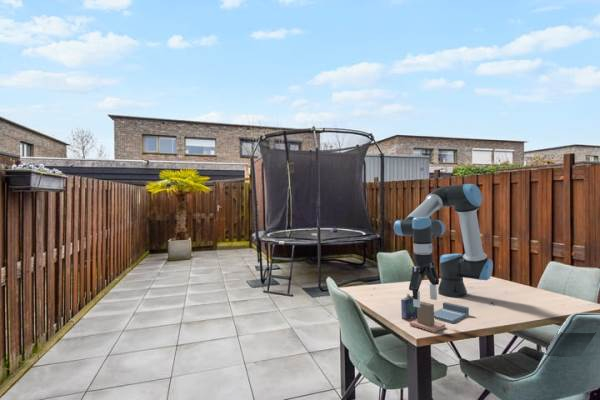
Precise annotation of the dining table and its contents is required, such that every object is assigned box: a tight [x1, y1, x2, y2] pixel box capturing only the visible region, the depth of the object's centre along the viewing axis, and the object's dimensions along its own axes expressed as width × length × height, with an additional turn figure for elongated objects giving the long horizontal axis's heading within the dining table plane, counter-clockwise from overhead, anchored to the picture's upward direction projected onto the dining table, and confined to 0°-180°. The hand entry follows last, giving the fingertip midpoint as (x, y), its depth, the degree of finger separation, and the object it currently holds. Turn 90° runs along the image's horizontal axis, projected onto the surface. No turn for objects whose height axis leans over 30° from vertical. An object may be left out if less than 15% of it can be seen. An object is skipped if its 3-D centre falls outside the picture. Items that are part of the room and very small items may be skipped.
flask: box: [400, 293, 417, 320], centre depth 141 cm, size 9×3×11 cm, turn 117°
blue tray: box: [434, 301, 470, 324], centre depth 141 cm, size 11×16×4 cm
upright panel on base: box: [409, 300, 446, 333], centre depth 129 cm, size 11×9×10 cm
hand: (425, 303), depth 129 cm, fingers open, 13 cm apart
